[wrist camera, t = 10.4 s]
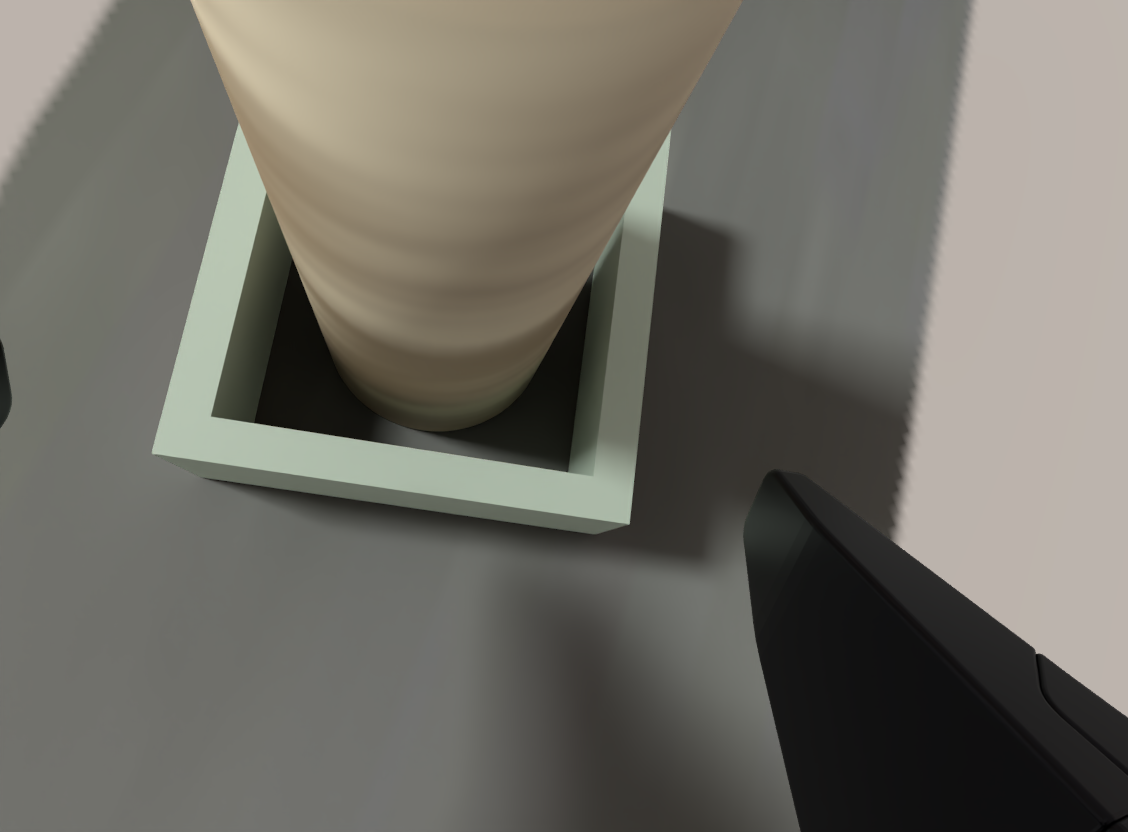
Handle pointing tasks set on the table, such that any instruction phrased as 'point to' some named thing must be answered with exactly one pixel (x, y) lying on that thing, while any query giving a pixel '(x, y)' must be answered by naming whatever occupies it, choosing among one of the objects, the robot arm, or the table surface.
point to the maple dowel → (453, 170)
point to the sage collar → (387, 472)
